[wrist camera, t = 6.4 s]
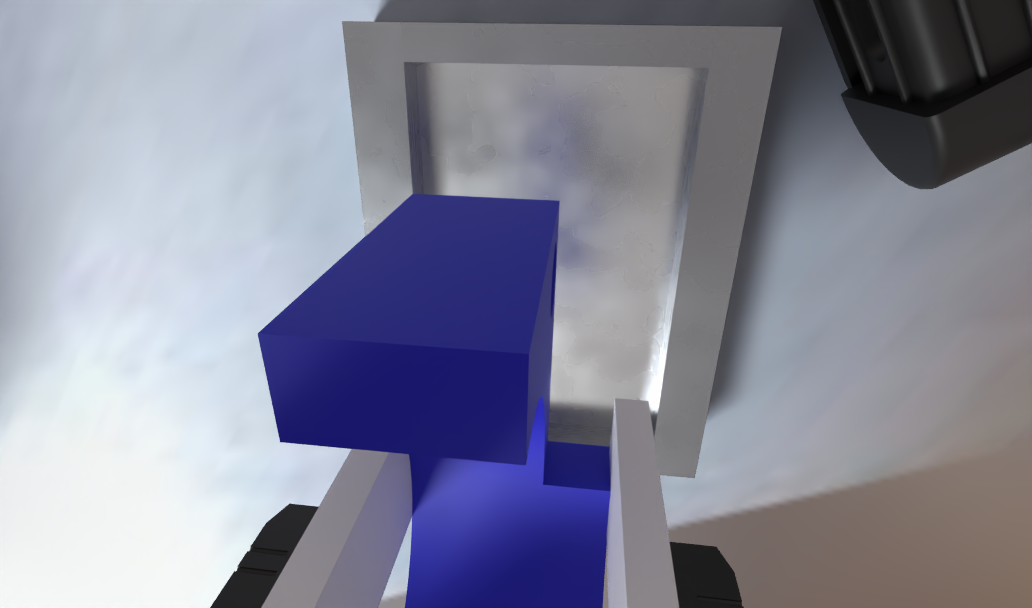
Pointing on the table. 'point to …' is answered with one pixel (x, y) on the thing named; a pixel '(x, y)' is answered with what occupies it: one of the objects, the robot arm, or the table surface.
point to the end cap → (935, 81)
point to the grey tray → (587, 185)
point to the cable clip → (453, 398)
